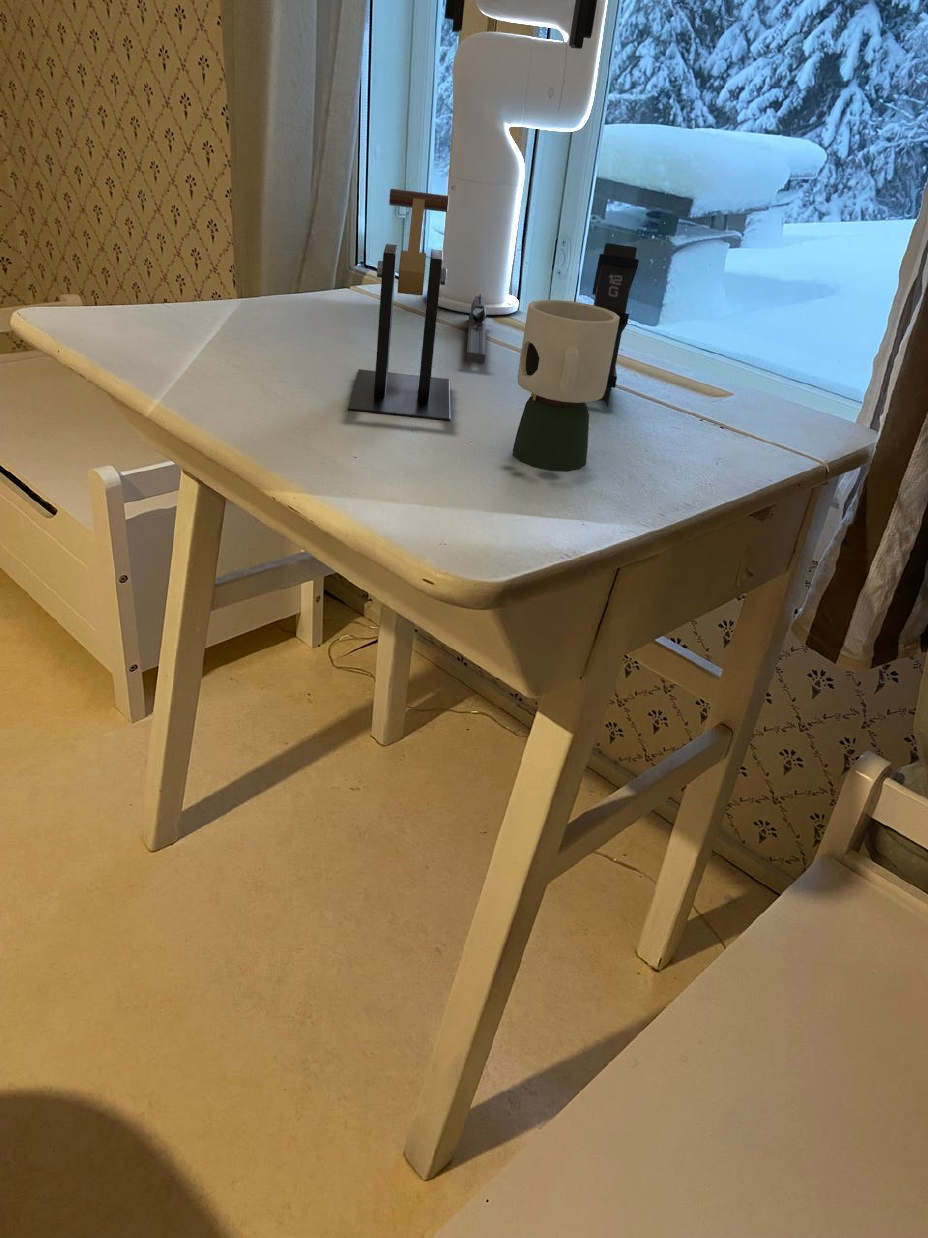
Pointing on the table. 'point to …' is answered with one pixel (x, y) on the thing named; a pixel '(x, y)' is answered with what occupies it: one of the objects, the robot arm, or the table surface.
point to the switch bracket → (381, 386)
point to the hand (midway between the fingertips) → (516, 39)
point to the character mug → (562, 380)
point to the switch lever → (415, 236)
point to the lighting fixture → (477, 332)
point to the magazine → (615, 293)
